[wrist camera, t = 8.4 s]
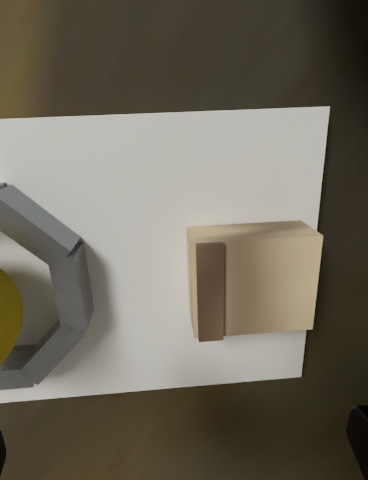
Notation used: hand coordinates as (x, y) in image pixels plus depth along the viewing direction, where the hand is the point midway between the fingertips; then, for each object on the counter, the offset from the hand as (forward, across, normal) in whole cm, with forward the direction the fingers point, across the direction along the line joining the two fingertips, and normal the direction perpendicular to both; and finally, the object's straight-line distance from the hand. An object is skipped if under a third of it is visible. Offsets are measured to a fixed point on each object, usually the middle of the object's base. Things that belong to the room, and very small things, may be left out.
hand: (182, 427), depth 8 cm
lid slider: (+10, -4, 0) cm, 10 cm away
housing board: (+11, +4, 0) cm, 11 cm away
